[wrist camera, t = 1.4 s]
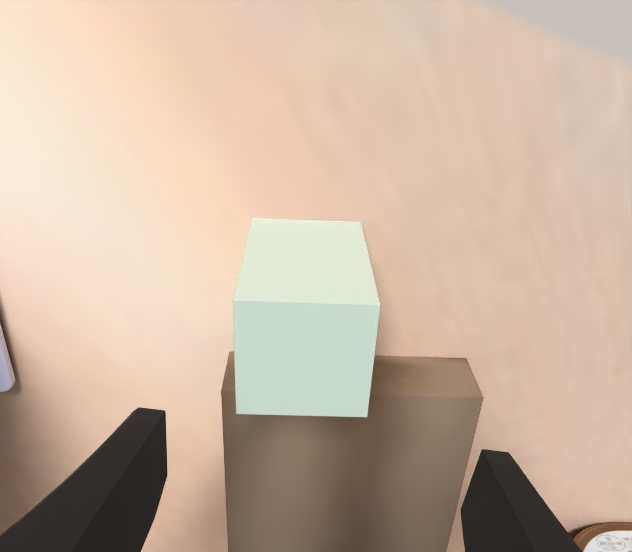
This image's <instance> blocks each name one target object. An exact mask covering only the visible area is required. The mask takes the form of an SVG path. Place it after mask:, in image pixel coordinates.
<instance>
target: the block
mask: <svg viewBox="0 0 632 552" xmlns="http://www.w3.org/2000/svg"><path fill="white" fill-rule="evenodd" d="M379 312H380V302H379V297H378V293H377V289H376V284H375V280H374V276H373V272H372V267H371V263H370V259H369V254H368V250H367V246H366V242H365V237H364V233H363V229H362V224H361V222H348V221H321V220H294V219H267V218H252V222H251V227H250V231H249V235H248V239H247V243H246V247H245V252H244V256H243V260H242V264H241V268H240V272H239V277H238V281H237V285H236V289H235V293H234V297H233V325H234V358H235V391H236V414H258V415H298V416H338V417H367V414H368V406H369V397H370V389H371V380H372V372H373V363H374V355H375V346H376V338H377V329H378V321H379Z"/></svg>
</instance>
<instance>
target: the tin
mask: <svg viewBox="0 0 632 552" xmlns="http://www.w3.org/2000/svg"><path fill="white" fill-rule="evenodd" d="M573 540H574V541H575V543H576V544H577V545H578V546H579V548H580V549H581V550H582V551H583V552H632V523H619V522H612V523H601V524H597V525H593V526H590V527H588V528H586V529H584V530H582V531H581V532H580V533H579V534H577V535H576V536H575V537H574V539H573Z"/></svg>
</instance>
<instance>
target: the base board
mask: <svg viewBox="0 0 632 552" xmlns="http://www.w3.org/2000/svg"><path fill="white" fill-rule="evenodd" d="M221 396H222V419H223V441H224V464H225V487H226V509H227V532H228V552H446V549H447V545H448V541H449V536H450V532H451V528H452V524H453V520H454V516H455V512H456V508H457V504H458V500H459V496H460V492H461V487H462V483H463V479H464V475H465V471H466V467H467V463H468V459H469V455H470V451H471V447H472V442H473V438H474V434H475V430H476V426H477V422H478V418H479V414H480V410H481V406H482V402H483V396H482V393H481V391H480V389H479V386H478V384H477V382H476V379H475V377H474V375H473V373H472V370H471V368H470V366H469V363H468V361H467V359H465V358H431V357H396V356H374V363H373V372H372V380H371V389H370V397H369V406H368V414H367V417H338V416H298V415H258V414H236V391H235V358H234V352H229V357H228V362H227V366H226V371H225V376H224V380H223V385H222V390H221Z"/></svg>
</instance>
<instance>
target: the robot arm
mask: <svg viewBox="0 0 632 552" xmlns="http://www.w3.org/2000/svg"><path fill="white" fill-rule="evenodd" d="M14 382H15V377H14V373H13V369H12V365H11V362H10V358H9V354H8V350H7V347H6V343H5V339H4V335H3V332H2V328H1V324H0V392H4V391H8V390H9V389H10V388H11V387H12V386H13V384H14ZM166 478H167V447H166V415H165V411H164V410H155V409H147V408H137V409H136V410H134V411H133V412H132V413H131V414H130V416H129V417H128V418H127V419H126V420H125V421H124V422H123V423H122V424H121V425H120V426H119V427H118V428H117V429H116V430H115V432H114V433H113V434H112V435H111V436H110V437H109V438H108V439H107V440H106V441H105V442H104V443H103V444H102V445H101V446H100V447H99V448H98V449H97V450H96V451H95V452H94V453H93V454H92V455H91V456H90V457H89V458H88V459H87V460H86V461H85V462H84V463H83V464H82V465H81V466H80V467H78V468H77V469H76V470H75V471H74V472H73V473H72V474H71V475H70V476H69V477H68V478H67V479H66V480H65V481H64V482H63V483H62V484H60V485H59V486H58V487H57V488H56V489H55V490H54V491H52V492H51V493H50V494H49V495H48V496H47V497H46V498H44V499H43V500H42V501H41V502H40V503H39V504H38V505H37V506H35V507H34V508H33V509H32V510H31V511H30V512H28V513H27V514H26V515H25V516H24V517H22V518H21V519H20V520H19V521H17V522H16V523H15V524H14V525H13V526H11V527H10V528H9V529H7V530H6V531H5V532H4V533H2V534H1V535H0V552H141V550H142V547H143V545H144V542H145V540H146V538H147V535H148V533H149V530H150V528H151V526H152V523H153V521H154V518H155V515H156V511H157V508H158V505H159V502H160V498H161V495H162V491H163V488H164V485H165V481H166ZM461 519H462V529H463V538H464V546H465V552H583V551H582V550H581V549H580V548H579V546H578V545H577V544H576V543H575V541H574V540H573V539H572V537H571V536H570V535H569V534H568V532H567V531H566V530H565V528H564V527H563V526H562V524H561V523H560V522H559V521H558V519H557V518H556V517H555V515H554V514H553V513H552V511H551V510H550V509H549V507H548V506H547V504H546V503H545V502H544V500H543V499H542V498H541V496H540V495H539V494H538V492H537V491H536V489H535V488H534V487H533V485H532V484H531V482H530V481H529V480H528V478H527V477H526V475H525V474H524V473H523V471H522V470H521V469H520V467H519V466H518V464H517V463H516V462H515V460H514V459H513V458H512V456H511V455H510V454H509V453H508V452H500V451H492V450H484V449H482V451H481V453H480V456H479V459H478V462H477V465H476V468H475V471H474V473H473V476H472V479H471V482H470V485H469V488H468V490H467V493H466V496H465V499H464V502H463V505H462V508H461Z"/></svg>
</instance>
